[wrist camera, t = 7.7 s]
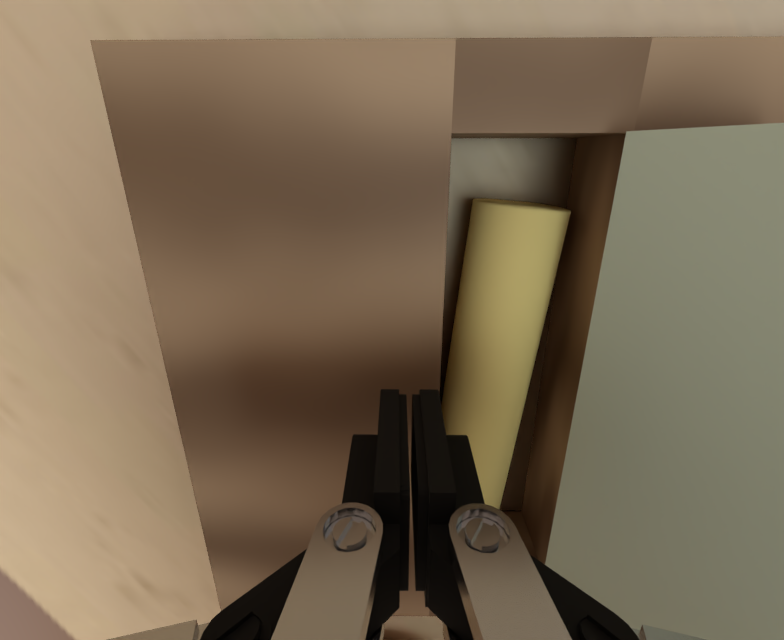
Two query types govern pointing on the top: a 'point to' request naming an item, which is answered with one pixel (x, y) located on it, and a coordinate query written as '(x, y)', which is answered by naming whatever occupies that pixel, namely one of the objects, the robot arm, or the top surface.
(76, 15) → the top surface
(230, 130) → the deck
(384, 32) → the top surface
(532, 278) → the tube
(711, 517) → the flap
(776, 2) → the top surface
